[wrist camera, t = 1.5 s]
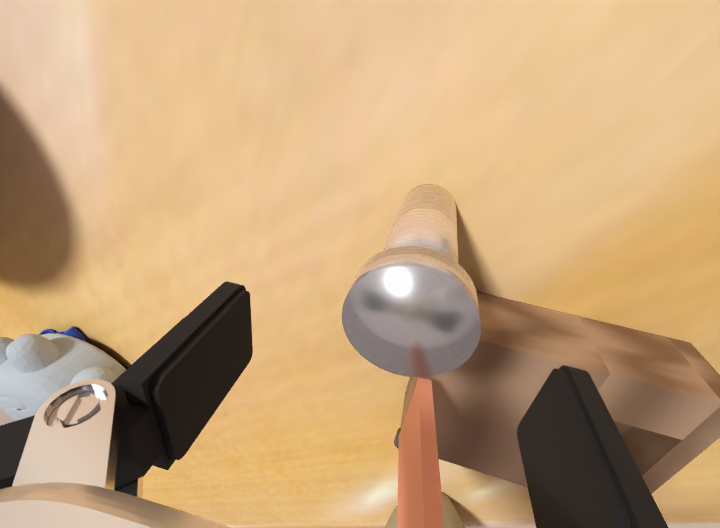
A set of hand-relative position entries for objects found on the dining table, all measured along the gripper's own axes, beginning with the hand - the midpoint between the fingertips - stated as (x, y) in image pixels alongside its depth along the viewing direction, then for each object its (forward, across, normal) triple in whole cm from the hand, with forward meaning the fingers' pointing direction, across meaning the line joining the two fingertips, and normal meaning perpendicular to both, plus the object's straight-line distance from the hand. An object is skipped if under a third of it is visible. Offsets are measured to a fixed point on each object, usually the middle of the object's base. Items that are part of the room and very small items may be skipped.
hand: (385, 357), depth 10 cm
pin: (+13, -1, 0) cm, 13 cm away
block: (+13, -11, +10) cm, 20 cm away
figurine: (+14, +33, +29) cm, 47 cm away
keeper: (+3, -3, +11) cm, 11 cm away
